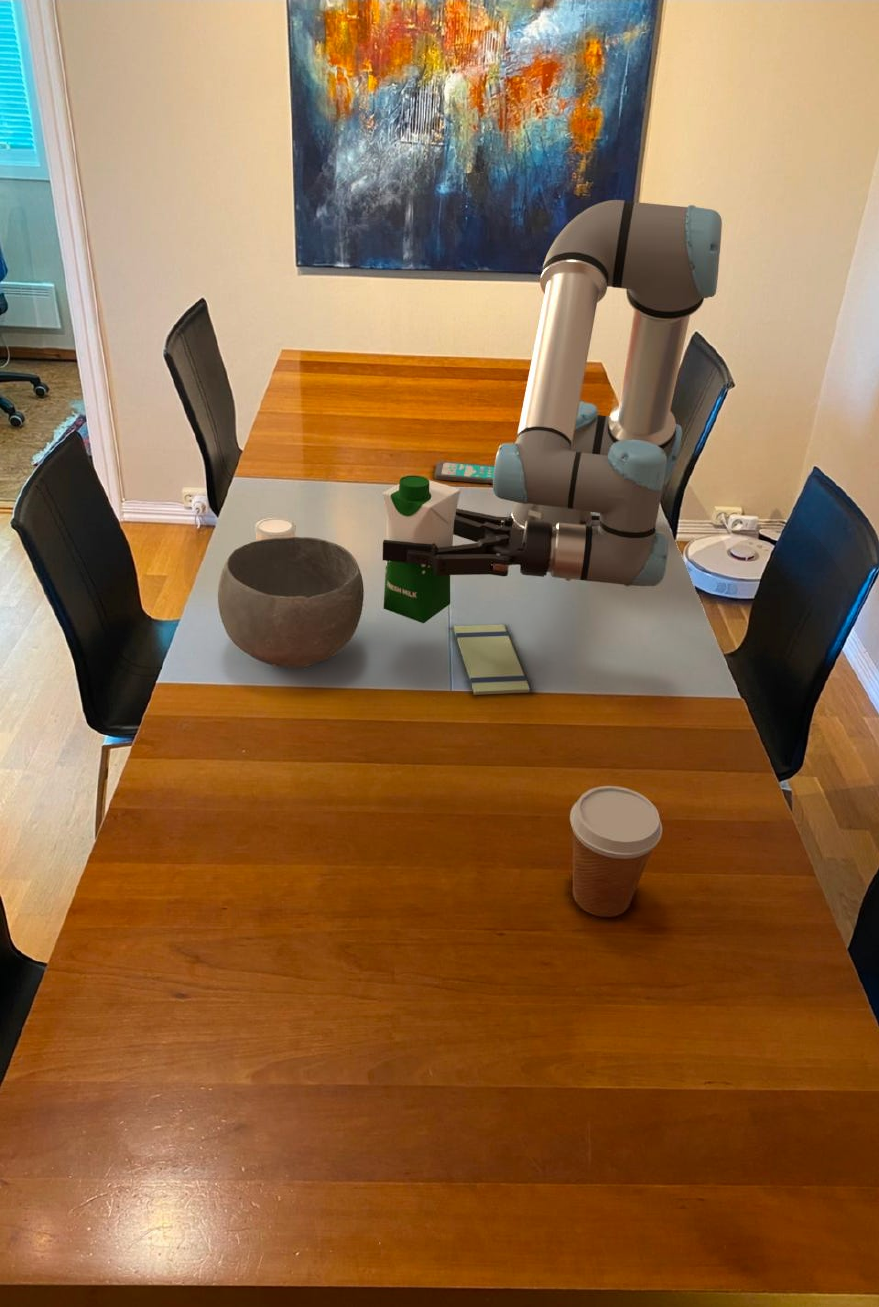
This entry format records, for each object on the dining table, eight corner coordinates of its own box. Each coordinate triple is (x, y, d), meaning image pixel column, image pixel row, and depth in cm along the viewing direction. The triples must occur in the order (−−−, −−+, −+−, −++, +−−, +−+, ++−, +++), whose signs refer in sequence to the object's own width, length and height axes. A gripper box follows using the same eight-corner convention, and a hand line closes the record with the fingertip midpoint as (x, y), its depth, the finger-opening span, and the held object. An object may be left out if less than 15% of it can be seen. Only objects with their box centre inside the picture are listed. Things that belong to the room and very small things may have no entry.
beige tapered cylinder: (289, 574, 166) (288, 536, 163) (250, 568, 167) (248, 531, 164) (302, 556, 172) (301, 520, 168) (264, 551, 173) (263, 514, 169)
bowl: (248, 704, 134) (242, 609, 126) (205, 632, 149) (197, 543, 141) (385, 672, 143) (387, 581, 135) (331, 607, 158) (331, 521, 150)
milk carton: (374, 609, 141) (376, 478, 130) (409, 585, 147) (414, 458, 136) (425, 628, 137) (432, 495, 126) (459, 603, 143) (468, 474, 133)
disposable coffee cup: (550, 865, 111) (563, 783, 105) (633, 863, 112) (650, 782, 106) (567, 930, 103) (581, 846, 97) (655, 927, 104) (675, 844, 98)
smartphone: (437, 459, 211) (507, 465, 210) (437, 464, 212) (507, 469, 211) (434, 475, 204) (506, 480, 203) (433, 479, 204) (505, 485, 204)
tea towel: (503, 627, 155) (504, 624, 155) (529, 692, 140) (530, 688, 140) (453, 629, 154) (453, 625, 154) (474, 695, 139) (474, 691, 139)
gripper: (546, 613, 128) (375, 595, 129) (549, 540, 146) (399, 526, 148) (553, 561, 124) (376, 544, 125) (554, 493, 142) (400, 479, 144)
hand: (388, 534), depth 136 cm, fingers closed on milk carton, 9 cm apart
